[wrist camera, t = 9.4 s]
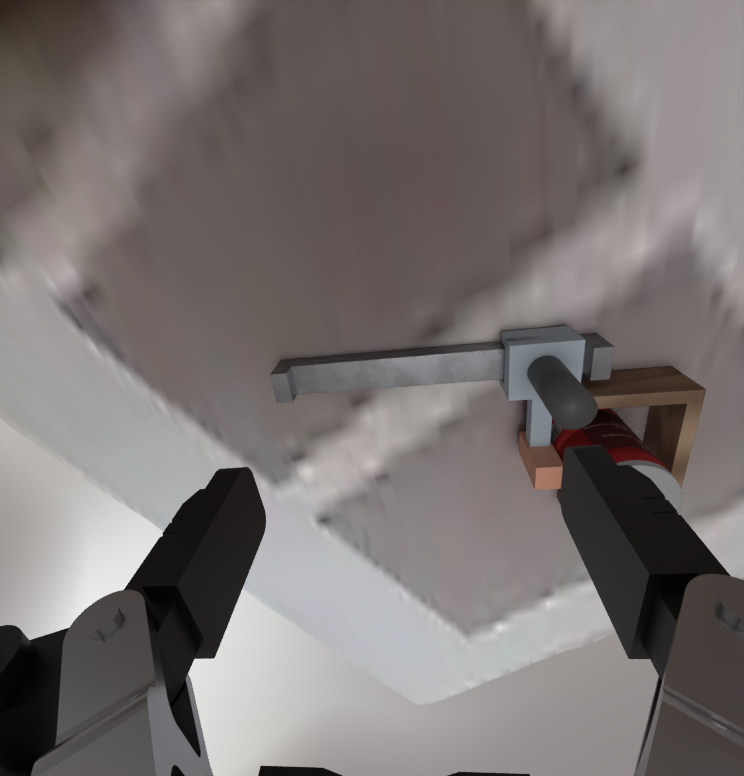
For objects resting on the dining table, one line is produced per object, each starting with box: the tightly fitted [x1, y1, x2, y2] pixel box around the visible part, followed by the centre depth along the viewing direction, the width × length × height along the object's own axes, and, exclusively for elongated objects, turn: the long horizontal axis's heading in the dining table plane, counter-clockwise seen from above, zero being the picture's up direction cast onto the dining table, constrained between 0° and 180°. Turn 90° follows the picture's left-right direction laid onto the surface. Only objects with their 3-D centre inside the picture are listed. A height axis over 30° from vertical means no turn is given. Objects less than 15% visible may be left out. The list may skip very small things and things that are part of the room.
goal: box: [557, 366, 706, 505], centre depth 40 cm, size 15×9×5 cm, turn 7°
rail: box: [270, 333, 614, 403], centre depth 38 cm, size 3×30×4 cm, turn 97°
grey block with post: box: [500, 326, 598, 490], centre depth 35 cm, size 13×6×11 cm, turn 7°
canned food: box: [550, 408, 682, 513], centre depth 37 cm, size 8×8×11 cm
